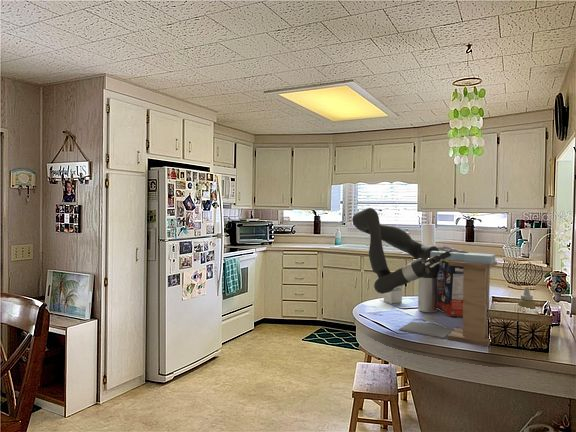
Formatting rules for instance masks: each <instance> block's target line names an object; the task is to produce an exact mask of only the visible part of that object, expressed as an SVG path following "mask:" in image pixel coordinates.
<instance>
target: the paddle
mask: <svg viewBox="0 0 576 432" xmlns="http://www.w3.org/2000/svg"><path fill="white" fill-rule="evenodd" d="M443 253H445V252H442V251H431V252H430V258H431V257H433V256H438V255H440V256H441V254H443ZM450 254H451V256H449V257H447V258H445V259H443V260H453V261H464V262H470V263H483V264H492V263H494V262H495V261H496V254H494V253H491V254H490V253H480V252H479V253H478V252H477V253H476V252H469V253H457V252H450Z"/></svg>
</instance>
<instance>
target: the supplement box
mask: <svg viewBox="0 0 576 432" xmlns="http://www.w3.org/2000/svg"><path fill="white" fill-rule="evenodd" d="M383 302H385V303H389V304H390V305H391V304H398V303H399V304H401V303H402V302H403V285H402V286H398V287H396V288H394V289H393V290H392V291H391V292H388V293H384V294H383Z"/></svg>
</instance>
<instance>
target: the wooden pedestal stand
mask: <svg viewBox="0 0 576 432" xmlns="http://www.w3.org/2000/svg"><path fill="white" fill-rule="evenodd" d="M497 265H498V262H497V261H496V260H495V262H494V263H492V264H483V263H470V262H464V261H453V260H452V261H449V266H461V267H464V278H463V318H462V327H458V326H457V327H455V328H454V329H455V330H453V331H452V332H451V333H450V334H448V336H447V339H448V340H452V341H458V342H463V343H468V344H474V345H477V346H478V345H479V346H485V347H489V346H490V344H491V343H490V340H489V338H488V321H487V309H489V310H490V285H491V284H490V282H491V281H490V278H491V277H490V276H491V275H490V273H491V272H490V270H491V269H492V268H493V267H496V266H497Z"/></svg>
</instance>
